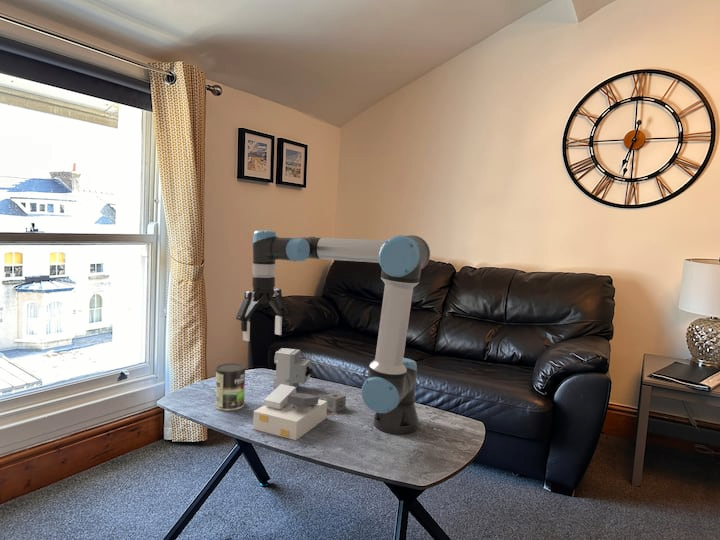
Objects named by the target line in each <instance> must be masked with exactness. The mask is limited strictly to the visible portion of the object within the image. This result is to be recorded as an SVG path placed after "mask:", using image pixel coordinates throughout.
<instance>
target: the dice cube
mask: <svg viewBox="0 0 720 540" xmlns="http://www.w3.org/2000/svg"><path fill="white" fill-rule="evenodd" d="M325 398H326V399H325V401H327V411H330V412H334V413H335V414H336V413H339V412H341V411H344V410H346V401H347V399H346V398H347V396H346V395H344V394H342V393H340V392H332V393H329V394H326V397H325Z"/></svg>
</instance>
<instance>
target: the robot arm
mask: <svg viewBox="0 0 720 540" xmlns="http://www.w3.org/2000/svg"><path fill="white" fill-rule="evenodd" d="M430 258H431V249H430V246H429V244H428V243H427V241H426V240H425V239H423V238H422V237H420V236H418V235H414V234H413V235H412V234H410V235H405V234H404V235H403V234H402V235H395V236H393V237H390V238H389V239H386V240H385V239H361V238H340V237H339V238H337V237H334V238H333V237H316V236H308V237H305V236H304V237H279V236H277V232H276V231H274V230H255V231H254V232H253V238H252V275H253V276H252V282H251V283H252V289H253V290H252V291H247V290H246V291H245V292H244V297H243V300H242V302H241V304H240V308H239V309H238V312H237V314H236V318H235V319H236V320H237V321H240V322H241V323H240V324H241V326H240V327H241V332H242V341H244V342H250V339H251V338H250V336H251V335H250V333H251V331H250V330H251V321H249V320H250V318H251V317H252V315H253V314H254V312H255V311H256V309H257V307H258V306H260V305H264V304H269V305H270V307H271V308H272V309H273V311H274V312H275V314H276V315H275V316H274V317H275V319H274V335H278V336H282V332H283V331H282V326H283V325H284V317H286V315H288V313H289V310H288V308H287V306H286V303H285V300H284V298H283V295H282V294H283V293H282V289H281V288H275V287H276V277H275V275H276V260H279V261H289V262H305V261H306V260H309V259H310V260H311V259H313V260H327V261H328V260H329V261H331V260H332V261H346V262H347V261H348V262H361V263H362V262H364V263H365V262H366V263H377V264H379V266H380V268H381V273H380V280H382V283H384V289H383V290H384V291H383V298H382V304H381V312H380V320H379V326H378V327H379V328H378V336H377V343H376V349H375V351H376V352H375V357H374V359H373V360H372V361H371V362H369V366H368V372H367V373H368V374H367V379H366V380H365V381H364V382H363V385H362V386H361V390H360V392H361V393H360V394H361V395H360V396H361V399H362V400H363V403H364V404H365V405H366V407H367V408H368V409H370V410H371V411H372V412H375V413H374V416H373V426H374V427H375V428H376V429H377V430H380V431H382V432H384V433H387V434H392V435H393V434H394V435H405V434H411V433H414V432H416V431H417V430H418V429H419V416H418V412H417V409H416V406H415V403H416V401H415V400H416V386H417V374H418V373H417V372H418V367H417V361H415V360H413V359H411V358H406V357H404V356H405V348H406V341H407V334H408V329H409V321H410V315H411V314H410V312H411V307H412V301H413V300H412V299H413V292H414V287H416V286H417V285H418V284H420V278H421V273H422V272H421V271H422V269H424V268H425V267H426V266H427V265H428V263H429V262H430ZM274 297H275V298H274Z"/></svg>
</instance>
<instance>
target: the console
mask: <svg viewBox="0 0 720 540" xmlns="http://www.w3.org/2000/svg"><path fill="white" fill-rule="evenodd" d="M327 411H328V409H327V401H326V400H323V399H320V398H319V400H318V404H315V405H309V406H304V407H303V406H299V405H294V404H290V403H286V404H285V405H284V406H283V408H282V409H281V410H280V409H276V408H272V407H267V406H265V404H264V405H262V406H260V407H259V408H257V409H255V410H253V419H252V421H253V423H252V424H253V426H252V427H253V428H252V429H253V430H255V431H259V432H262V433H267V434H269V435H274V436H277V437H278V436H279V437H282V438H286V439H289V440H292V441H297V440H299V439H300V438H301V437H303V436H304V435H305V434H306V433H307V434H308V432H309V431H311V430H312V429H313V428H315V427H316V426H317V425H319V424H320V423H322V422H323V421H324V420H326V419H327Z"/></svg>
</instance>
